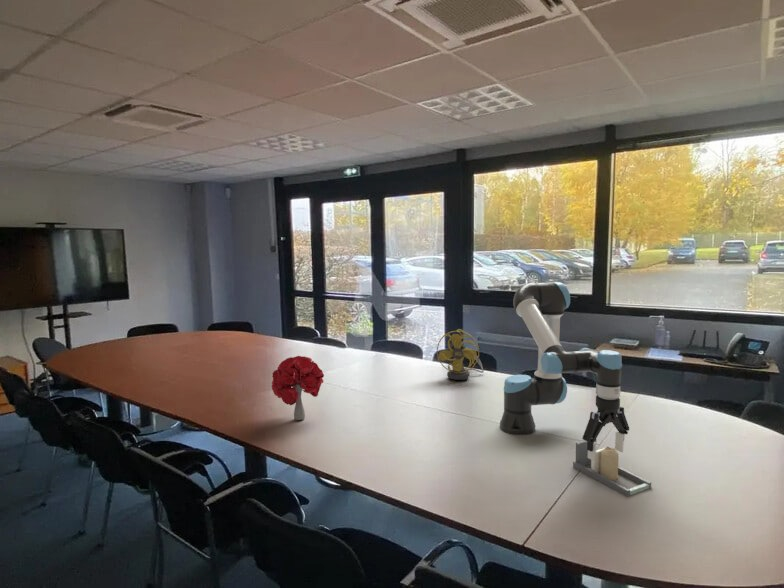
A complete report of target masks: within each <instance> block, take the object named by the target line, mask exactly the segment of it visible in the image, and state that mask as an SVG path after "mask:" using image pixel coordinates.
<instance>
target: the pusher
mask: <svg viewBox="0 0 784 588" xmlns="http://www.w3.org/2000/svg"><path fill="white" fill-rule="evenodd" d="M606 447H607V446H605V447H603V448H600V449H596V461H593V460H591V464H590V469H591V470H593V471H595V472H597V473H599V474H600V463H601V450H603V449H604V448H606Z"/></svg>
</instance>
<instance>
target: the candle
mask: <svg viewBox="0 0 784 588" xmlns="http://www.w3.org/2000/svg"><path fill="white" fill-rule="evenodd" d="M605 447H606V448H605ZM605 447H603V448H604V449H603V450H601V463H600V473H599V474H601V475H603V476H605V477H607V478H608V479H610V480H612V481H615V480H618V479H619V478H618V477H619V473H618V466H619V452H618V450H616V449H615V447H614V448H612V447H609V446H605Z"/></svg>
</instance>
